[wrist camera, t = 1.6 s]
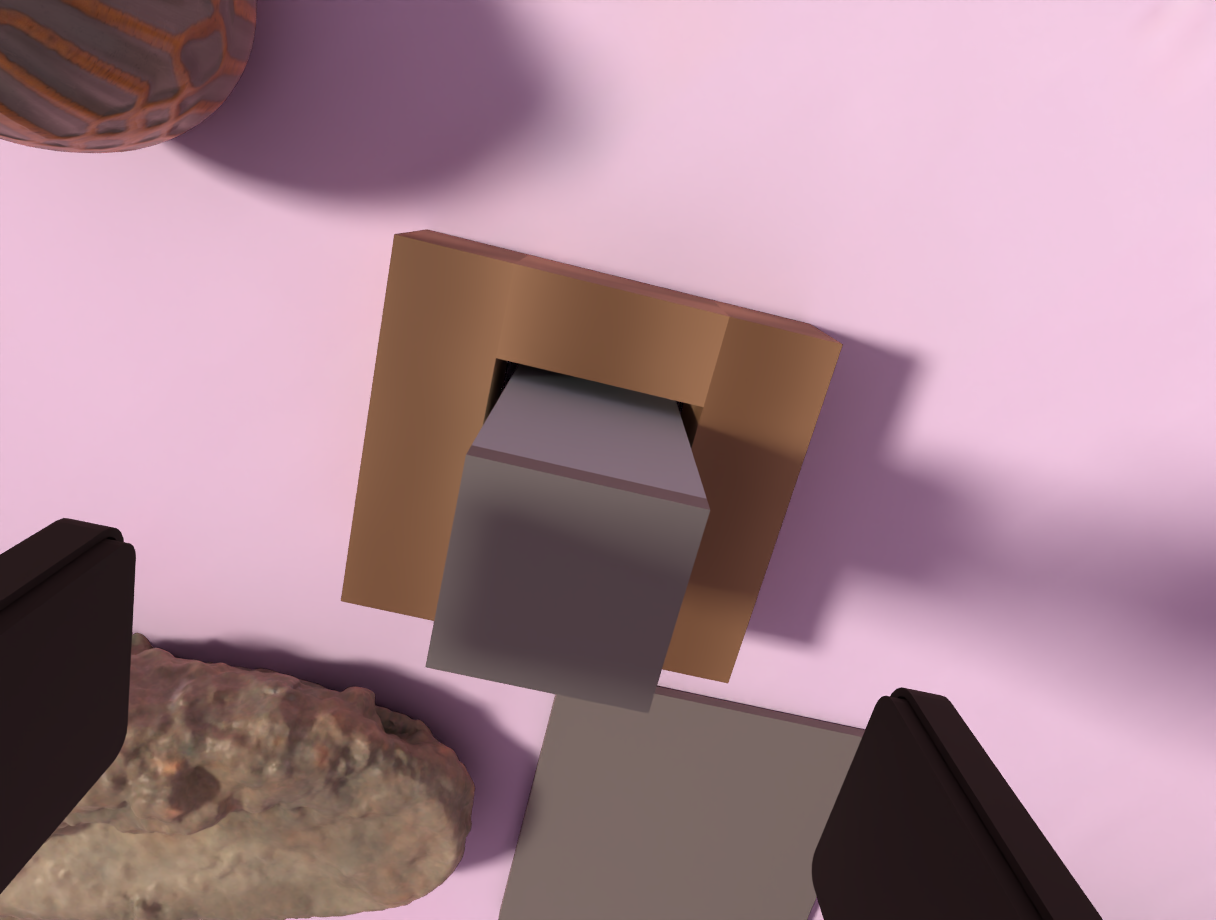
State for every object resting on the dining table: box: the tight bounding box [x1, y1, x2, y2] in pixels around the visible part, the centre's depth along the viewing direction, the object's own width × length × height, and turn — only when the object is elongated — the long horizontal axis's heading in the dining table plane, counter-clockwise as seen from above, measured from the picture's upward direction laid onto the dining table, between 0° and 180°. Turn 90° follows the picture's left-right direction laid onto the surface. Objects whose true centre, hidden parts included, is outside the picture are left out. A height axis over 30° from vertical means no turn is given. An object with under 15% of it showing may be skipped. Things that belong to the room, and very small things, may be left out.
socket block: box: [341, 230, 843, 683], centre depth 20 cm, size 10×9×3 cm
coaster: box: [498, 686, 865, 920], centre depth 25 cm, size 10×10×1 cm
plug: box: [426, 364, 710, 713], centre depth 17 cm, size 4×4×8 cm
